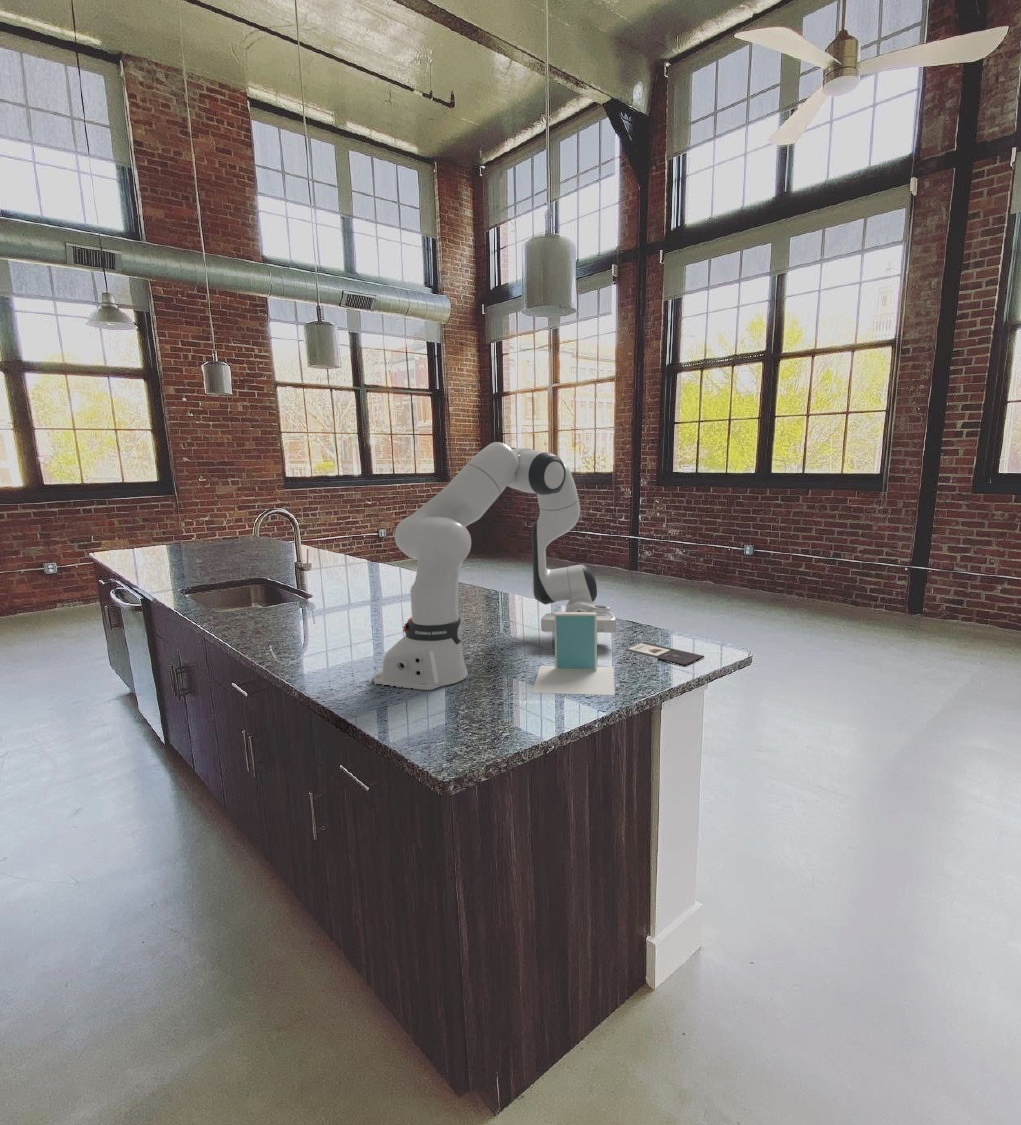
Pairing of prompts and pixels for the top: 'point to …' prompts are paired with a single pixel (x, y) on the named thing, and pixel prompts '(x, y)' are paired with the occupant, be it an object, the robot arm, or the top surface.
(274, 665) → the top surface
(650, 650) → the chocolate bar
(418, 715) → the top surface
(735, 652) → the top surface
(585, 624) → the tile
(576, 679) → the mat
